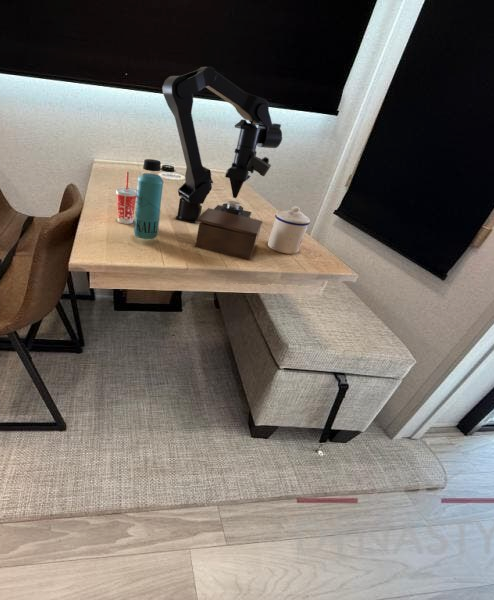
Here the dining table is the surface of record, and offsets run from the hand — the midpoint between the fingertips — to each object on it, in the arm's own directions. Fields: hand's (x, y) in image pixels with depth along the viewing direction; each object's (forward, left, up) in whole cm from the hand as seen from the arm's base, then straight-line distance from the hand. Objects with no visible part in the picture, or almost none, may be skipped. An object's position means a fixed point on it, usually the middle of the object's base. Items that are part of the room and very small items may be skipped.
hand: (234, 197), depth 108 cm
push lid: (0, 0, -3) cm, 3 cm away
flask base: (0, 0, -7) cm, 7 cm away
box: (+4, -26, -7) cm, 27 cm away
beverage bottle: (-16, -36, -7) cm, 40 cm away
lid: (+4, -26, 0) cm, 26 cm away
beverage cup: (-27, -26, -7) cm, 38 cm away
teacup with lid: (+18, -16, -7) cm, 25 cm away
